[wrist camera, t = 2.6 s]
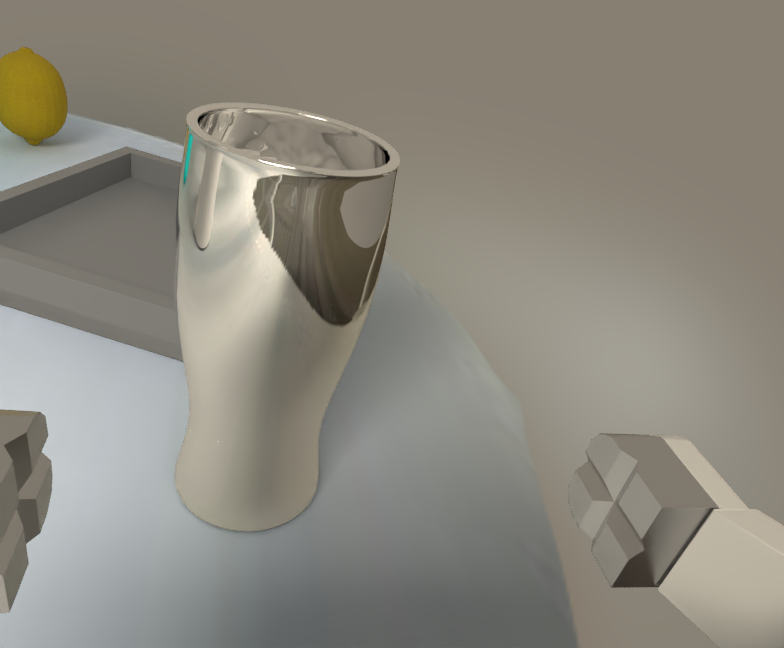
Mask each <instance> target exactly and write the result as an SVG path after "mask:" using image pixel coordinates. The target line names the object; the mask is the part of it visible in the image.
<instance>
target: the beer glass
mask: <svg viewBox="0 0 784 648" xmlns="http://www.w3.org/2000/svg"><path fill="white" fill-rule="evenodd" d="M399 163H400V158H399V155H398V153H397V152H396V151H395V150H394V148H393V147H392V146H390V145H389V144H388V143H387V142H385V141H384V140H382V139H380V138H379V137H377V136H375V135H373V134H371V133H369V132H367V131H365V130H362V129H360V128H358V127H355V126H352V125H350V124H347V123H344V122H341V121H338V120H335V119H331V118H328V117H324V116H321V115H317V114H313V113H309V112H304V111H300V110H295V109H290V108H284V107H278V106H271V105H263V104H252V103H216V104H209V105H204V106H201V107H198V108H195V109H193V110H192V111H190V112H189V113H188V115H187V117H186V135H185V143H184V151H183V158H182V164H181V171H180V178H179V186H178V194H177V202H176V211H175V223H174V236H173V290H174V300H175V310H176V320H177V326H178V332H179V338H180V344H181V350H182V356H183V362H184V368H185V373H186V380H187V387H188V394H189V419H188V426H187V430H186V434H185V437H184V440H183V443H182V446H181V449H180V452H179V455H178V459H177V463H176V468H175V484H176V488H177V492H178V494H179V496H180V498H181V500H182V502H183V503H184V504H185V506H186V507H187V508H188V509H189V510H190V511H191V512H192V513H193V514H194V515H196V516H197V517H198V518H200V519H202V520H203V521H205V522H207V523H209V524H211V525H214V526H217V527H220V528H223V529H228V530H234V531H261V530H266V529H271V528H274V527H277V526H280V525H282V524H284V523H287V522H288V521H290V520H292V519H294V518H295V517H296V516H298V515H299V514H300V513H301V512H302V511H303V510H304V509H305V508H306V507H307V506H308V505H309V503H310V502H311V500H312V498H313V497H314V495H315V492H316V489H317V485H318V480H319V435H320V429H321V425H322V421H323V418H324V414H325V412H326V409H327V407H328V405H329V402H330V400H331V398H332V395H333V393H334V391H335V389H336V387H337V385H338V383H339V381H340V378H341V376H342V374H343V372H344V370H345V368H346V366H347V363H348V361H349V359H350V357H351V355H352V352H353V350H354V348H355V346H356V344H357V341H358V339H359V336H360V333H361V331H362V328H363V326H364V323H365V321H366V318H367V316H368V313H369V310H370V307H371V303H372V299H373V296H374V292H375V289H376V285H377V282H378V278H379V274H380V269H381V264H382V259H383V254H384V250H385V245H386V239H387V233H388V226H389V220H390V213H391V207H392V200H393V193H394V186H395V180H396V174H397V169H398V166H399Z"/></svg>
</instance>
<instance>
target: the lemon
mask: <svg viewBox="0 0 784 648" xmlns="http://www.w3.org/2000/svg"><path fill="white" fill-rule="evenodd" d="M66 116H67V96H66V91H65V87H64V84H63V81H62V78H61V76H60V74H59V73H58V71H57V70H56V69H55V67H54V66H53V65H52V64H51V63H49V62H48V61H47V60H46V59H44V58H43V57H41V56H39V55H37V54H35V53H34V52H33V51H32V50H31V49H30V48H27V47H21V48H20V49H19V50H18V51H15V52H12V53H8V54H7V55H5V56H3V57H2V58H1V59H0V121H1V122H2V124H3V125H4V126H5V127H6V128H8V129H9V130H10V131H11V132H13V133H14V134H16V135H18V136H21V137H23V138H24V139H25V140H26V141H27V142H28V143H29V144H31V145H38V144H39V143H40V142H41V141H42V140H43V139H45V138H49V137H51V136H53V135H55V134H56V133H57V132H58V131H59V130H60V129H61V128H62V126H63V125H64V123H65V120H66Z"/></svg>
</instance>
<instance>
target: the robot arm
mask: <svg viewBox="0 0 784 648" xmlns="http://www.w3.org/2000/svg"><path fill="white" fill-rule="evenodd" d="M47 437H48V431H47V424H46V418H45V415H43V414H42V413H41V412H33V411H16V410H0V613H7V612H10V610H11V607H12V605H13V602H14V600H15V597H16V594H17V592H18V589H19V587H20V584H21V582H22V579H23V576H24V574H25V571H26V569H27V566H28V564H29V563H28V556H27V548H26V544H27V543H28V542H29V541H30V540H32V539H33V538H34V537H36V536H37V535H38V534H39V533H40V532H41V529H42V526H43V524H44V521H45V518H46V515H47V511H48V507H49V502H50V497H51V492H52V465H51V460H50V459H49V458H47V457H46V456H45V455H44V454H43V453H42V452H41V451H42V449H43V447H44V444H45V442H46V440H47ZM586 454H587V457H588V460H589V461H588V462H587V463H585V464H584V465H583V466H582V467H580V468H579V469H577V470H576V471H575V473H574V475H573V478H572V480H571V482H570V484H569V506H570V509H571V513H572V516H573V518H574V520H575V521H576V524H577V526H578V527H579V528H580V529H581V530H582V531H584V532H585V533H586V534H587V535H589V536H590V537H591V538H592V539H593V544H592V549H591V552H592V553H593V555H594V557H595V559H596V561H597V562H598V564H599V566H600V568H601V570H602V572H603V573H604V575H605V577H606V579H607V581H608V583H609V584H610V586H611V587H659V588H658V589H657V590H658V591H659V592H660V593H661V594H662V595H663V596H665V597H666V598H667V599H668V600H669V601H670V602H671V603H672V604H673V605H674V606H675V607H676V608H677V609H679V610H680V611H681V612H682V613H683V614H684V615H685V616H686V617H687V618H688V619H689V620H690V621H691V622H692V623H694V624H695V625H696V626H697V627H698V628H699V629H700V630H701V631H702V632H703V633H704V634H705V635H706V636H708V637H709V638H710V639H711V640H712V641H713V642H714V643H715V644H716V645H717V646H718V647H719V648H784V526H783V525H781V524H780V523H778V522H777V521H775V520H773V519H772V518H770V517H768V516H767V515H765V514H763V513H762V512H760V511H759V510H757V509H748V508H747V506H746V505H745V504H744V503H743V502H742V501H741V499H740V498H739V497H738V496H737V495H736V494H735V493H734V491H733V490H732V489H731V488H730V487H729V486H728V484H727V483H726V482H725V481H724V480H723V479H722V478H721V476H719V474H718V473H717V472H716V471H715V470H714V468H713V467H712V466H711V465H710V464H709V463H708V461H707V460H706V459H705V458H704V457H703V456H702V455H701V454H700V452H699V451H698V450H697V449H696V448H695V446H693V444H692V443H691V442H690V441H689V440H687V439H686V438H684V437H682V436H680V435H635V434H601V433H600V434H598V435H597V436H596V437H594V438H593V439H592V440H591V442H590V444H589V446H588V448H587V449H586Z"/></svg>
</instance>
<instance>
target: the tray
mask: <svg viewBox="0 0 784 648" xmlns="http://www.w3.org/2000/svg"><path fill="white" fill-rule="evenodd" d="M181 164H182V163H180V162H177V161H173V160H170V159H166V158H163V157H160V156H156V155H153V154H149V153H146V152H143V151H139V150H136V149H132V148H129V147H124V148H122V149H119V150H116V151H113V152H110V153H108V154H105V155H102V156H99V157H96V158H94V159H91V160H88V161H85V162H82V163H80V164H77V165H74V166H71V167H68V168H66V169H63V170H60V171H57V172H54V173H52V174H49V175H46V176H43V177H40V178H38V179H35V180H32V181H29V182H26V183H24V184H21V185H18V186H15V187H12V188H10V189H7V190H4V191H1V192H0V304H2V305H5V306H8V307H11V308H14V309H17V310H21V311H24V312H27V313H30V314H33V315H37V316H40V317H43V318H46V319H49V320H52V321H56V322H59V323H62V324H65V325H68V326H72V327H75V328H78V329H81V330H84V331H87V332H91V333H94V334H97V335H100V336H103V337H107V338H110V339H113V340H116V341H119V342H122V343H126V344H129V345H132V346H135V347H138V348H142V349H145V350H148V351H151V352H154V353H157V354H161V355H164V356H167V357H170V358H173V359H177V360H180V361H183V356H182V350H181V344H180V338H179V332H178V326H177V320H176V310H175V300H174V290H173V236H174V223H175V211H176V202H177V194H178V186H179V178H180V171H181Z"/></svg>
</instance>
